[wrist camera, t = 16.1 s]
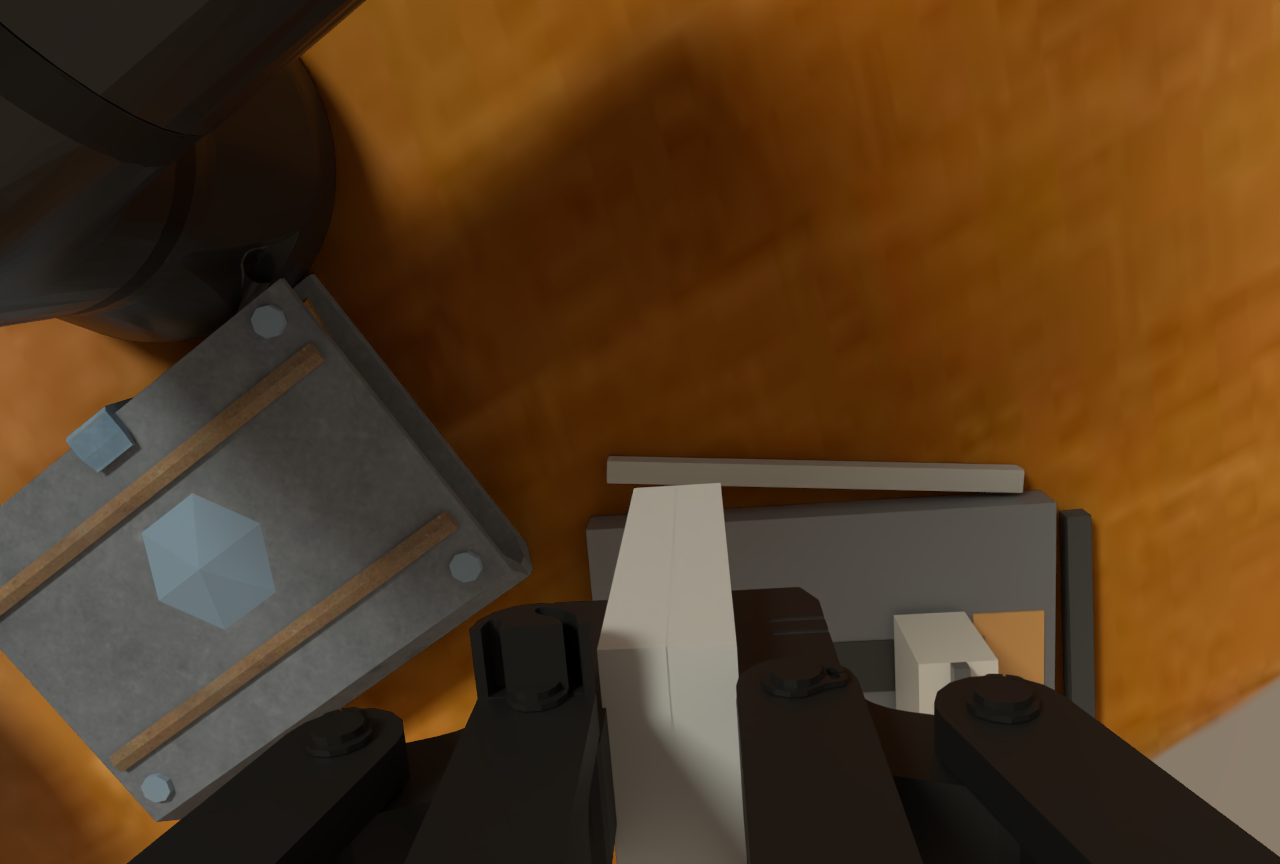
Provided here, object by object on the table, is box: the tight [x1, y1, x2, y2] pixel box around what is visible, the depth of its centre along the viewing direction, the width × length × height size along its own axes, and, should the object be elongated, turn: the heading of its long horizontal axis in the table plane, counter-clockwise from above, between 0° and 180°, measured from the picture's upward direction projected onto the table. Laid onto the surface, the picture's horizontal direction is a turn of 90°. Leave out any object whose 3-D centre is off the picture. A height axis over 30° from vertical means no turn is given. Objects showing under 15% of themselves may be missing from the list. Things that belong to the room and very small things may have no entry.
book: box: [0, 274, 533, 822], centre depth 44 cm, size 21×16×5 cm
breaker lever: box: [894, 612, 998, 715], centre depth 40 cm, size 3×5×5 cm, turn 4°
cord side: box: [1059, 509, 1095, 718], centre depth 44 cm, size 1×10×1 cm, turn 7°
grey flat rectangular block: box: [586, 490, 1057, 709], centre depth 44 cm, size 20×14×2 cm
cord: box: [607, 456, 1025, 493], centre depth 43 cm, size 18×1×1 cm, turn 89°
